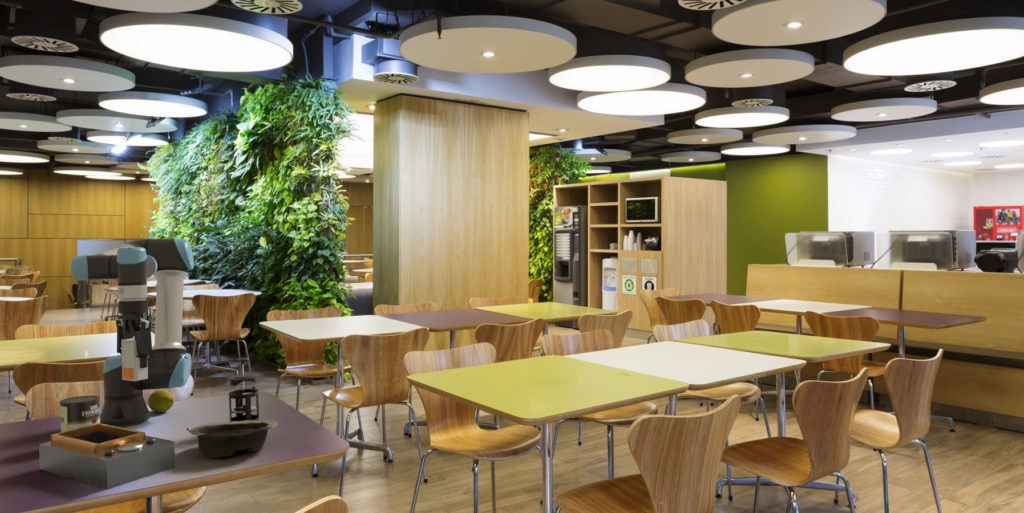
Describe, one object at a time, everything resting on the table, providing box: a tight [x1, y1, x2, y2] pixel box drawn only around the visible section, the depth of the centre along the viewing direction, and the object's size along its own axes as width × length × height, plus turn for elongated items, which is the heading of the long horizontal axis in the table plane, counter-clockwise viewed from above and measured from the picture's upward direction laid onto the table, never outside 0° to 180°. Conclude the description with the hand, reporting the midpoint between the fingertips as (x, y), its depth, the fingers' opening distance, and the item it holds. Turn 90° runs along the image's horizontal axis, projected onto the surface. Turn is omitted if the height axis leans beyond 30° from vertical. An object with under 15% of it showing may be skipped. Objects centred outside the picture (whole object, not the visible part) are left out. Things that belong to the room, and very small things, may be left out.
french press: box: [227, 357, 260, 422], centre depth 218 cm, size 12×9×23 cm
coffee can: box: [59, 395, 101, 433], centre depth 202 cm, size 10×10×14 cm
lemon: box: [147, 389, 175, 413], centre depth 241 cm, size 11×8×8 cm
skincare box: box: [121, 337, 148, 381], centre depth 195 cm, size 6×4×12 cm
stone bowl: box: [185, 419, 279, 459], centre depth 195 cm, size 25×25×9 cm
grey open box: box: [38, 423, 176, 490], centre depth 180 cm, size 32×18×9 cm, turn 61°
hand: (135, 378), depth 195 cm, fingers closed on skincare box, 6 cm apart
